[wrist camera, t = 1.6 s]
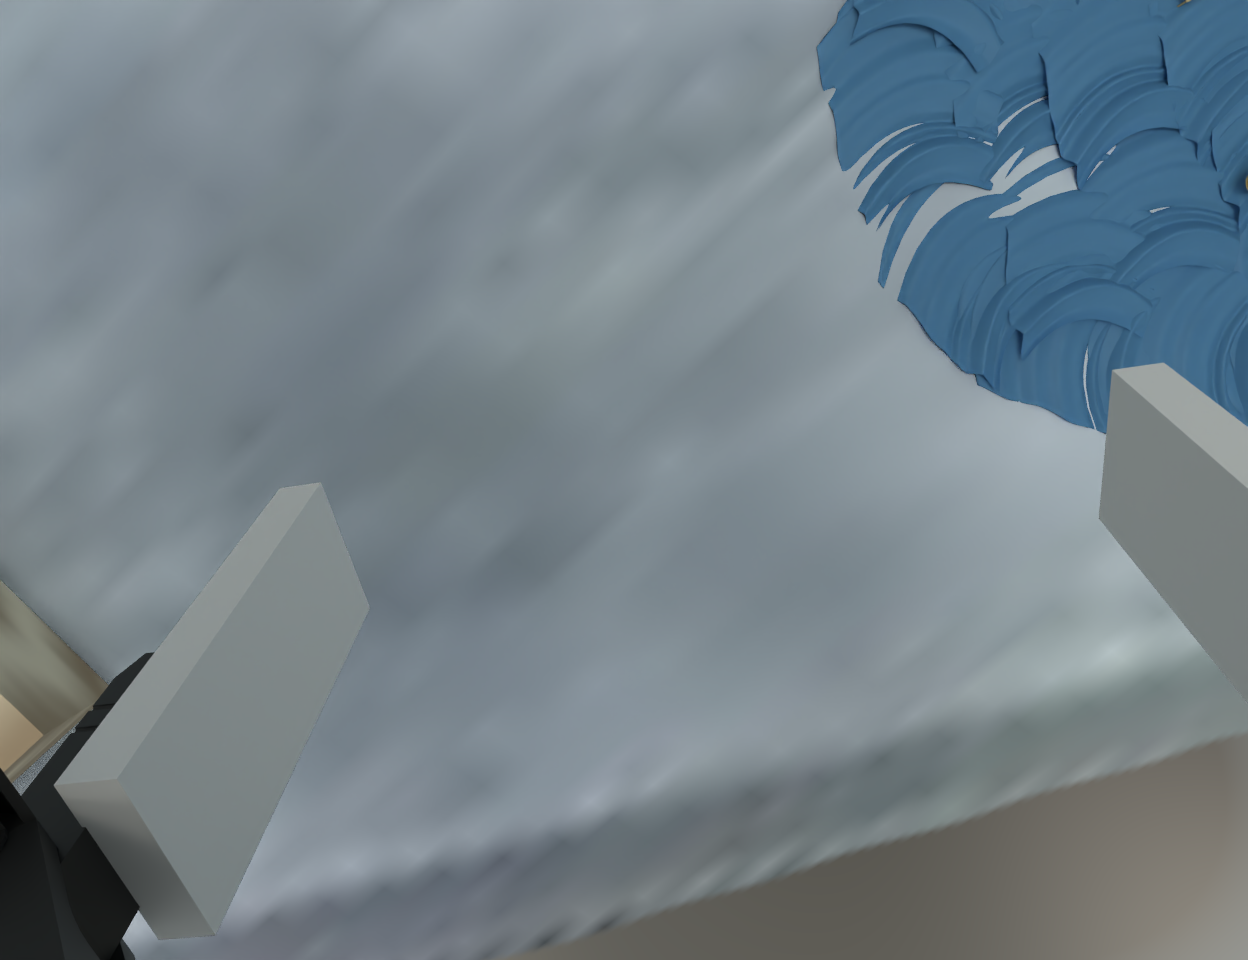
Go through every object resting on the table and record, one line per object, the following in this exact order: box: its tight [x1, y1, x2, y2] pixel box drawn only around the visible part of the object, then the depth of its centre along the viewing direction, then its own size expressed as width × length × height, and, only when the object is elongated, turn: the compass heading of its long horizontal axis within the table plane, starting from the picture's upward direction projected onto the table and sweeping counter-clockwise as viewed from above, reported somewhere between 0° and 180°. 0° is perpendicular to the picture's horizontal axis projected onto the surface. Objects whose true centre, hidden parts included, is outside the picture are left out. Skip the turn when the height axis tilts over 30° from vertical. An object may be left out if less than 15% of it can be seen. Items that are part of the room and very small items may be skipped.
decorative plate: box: [817, 0, 1248, 433], centre depth 33 cm, size 30×30×5 cm
